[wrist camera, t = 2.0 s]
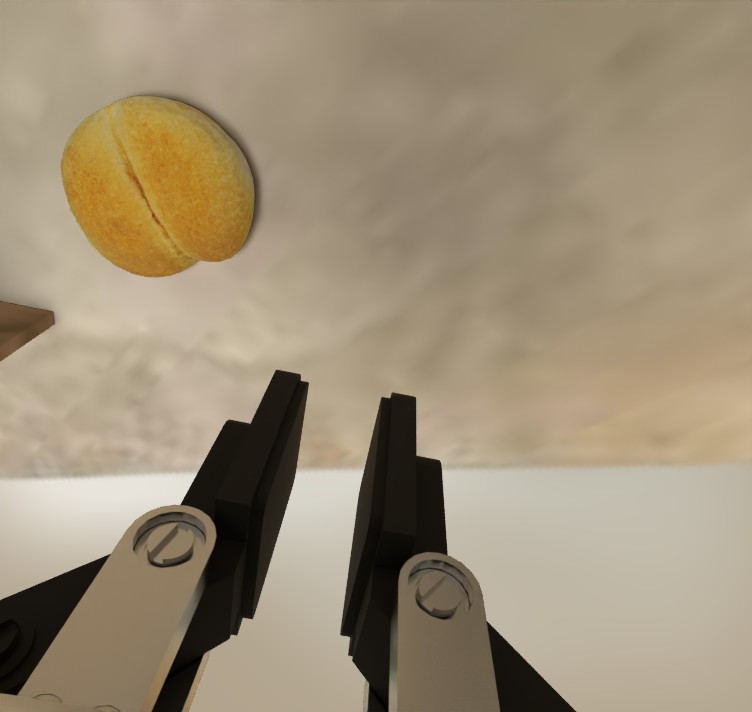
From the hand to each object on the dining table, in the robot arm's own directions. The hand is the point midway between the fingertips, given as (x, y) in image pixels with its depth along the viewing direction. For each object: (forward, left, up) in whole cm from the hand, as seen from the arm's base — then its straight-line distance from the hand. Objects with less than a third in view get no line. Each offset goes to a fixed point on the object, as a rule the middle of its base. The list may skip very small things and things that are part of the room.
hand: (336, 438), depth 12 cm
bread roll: (+11, 0, -18) cm, 21 cm away
